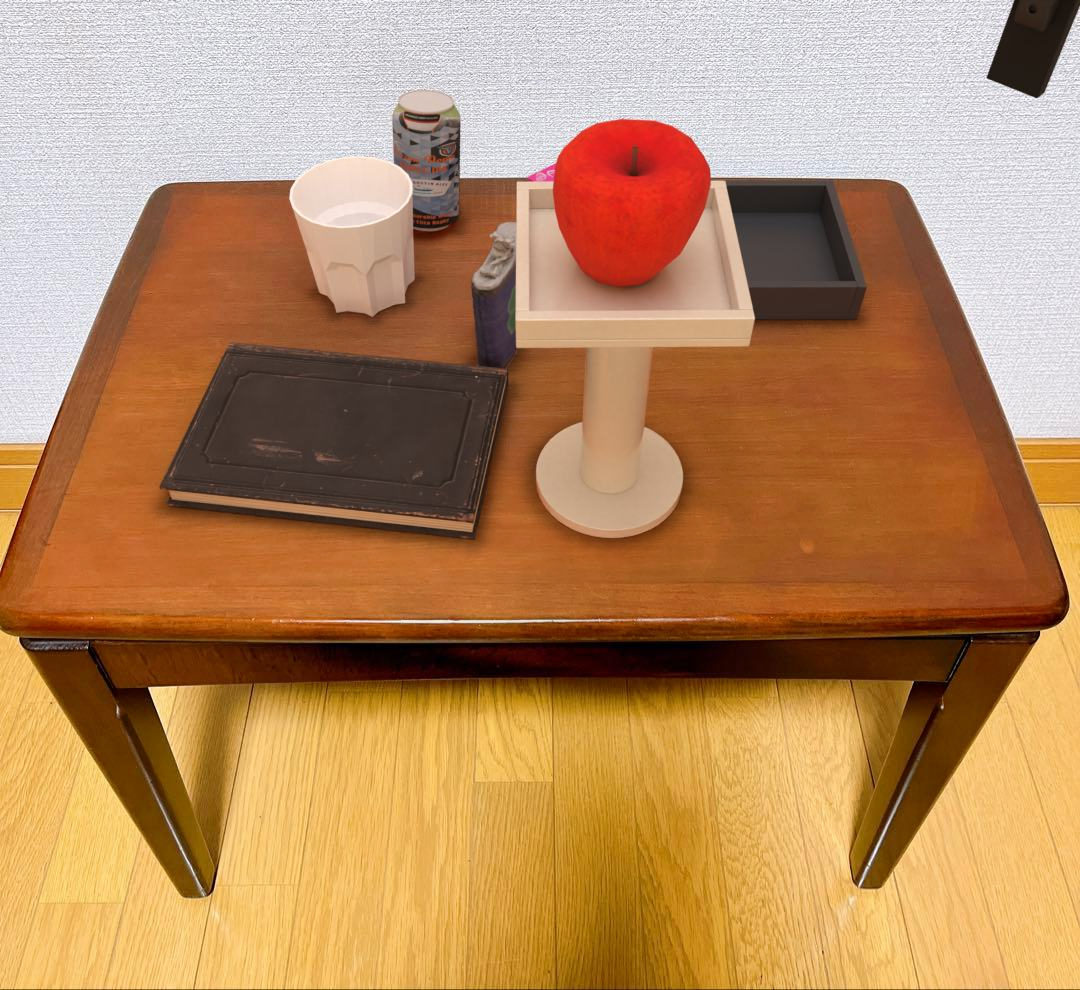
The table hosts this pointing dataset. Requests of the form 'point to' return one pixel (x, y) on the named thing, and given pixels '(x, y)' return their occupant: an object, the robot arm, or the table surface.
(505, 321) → the flask
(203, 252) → the table surface
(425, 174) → the beverage can
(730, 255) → the pedestal tray stand
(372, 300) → the cup
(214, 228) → the table surface
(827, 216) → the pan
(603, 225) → the apple
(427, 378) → the hardcover book
